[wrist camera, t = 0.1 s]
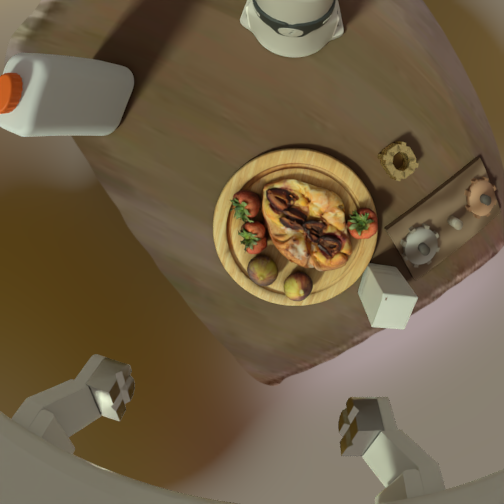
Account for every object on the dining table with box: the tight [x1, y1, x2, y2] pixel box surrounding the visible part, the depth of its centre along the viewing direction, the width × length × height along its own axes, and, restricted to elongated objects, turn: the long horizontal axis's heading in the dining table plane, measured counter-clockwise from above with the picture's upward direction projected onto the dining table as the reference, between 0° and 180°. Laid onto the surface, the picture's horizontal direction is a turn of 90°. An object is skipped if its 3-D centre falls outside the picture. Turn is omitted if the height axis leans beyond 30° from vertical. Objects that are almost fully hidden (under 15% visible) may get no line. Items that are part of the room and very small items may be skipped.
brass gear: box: [378, 141, 419, 181], centre depth 48 cm, size 6×6×3 cm
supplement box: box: [358, 263, 418, 329], centre depth 53 cm, size 7×7×13 cm
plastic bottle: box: [0, 53, 134, 137], centre depth 37 cm, size 15×15×28 cm
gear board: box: [385, 157, 501, 281], centre depth 50 cm, size 14×27×5 cm, turn 130°
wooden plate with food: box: [213, 148, 378, 306], centre depth 54 cm, size 32×32×8 cm
